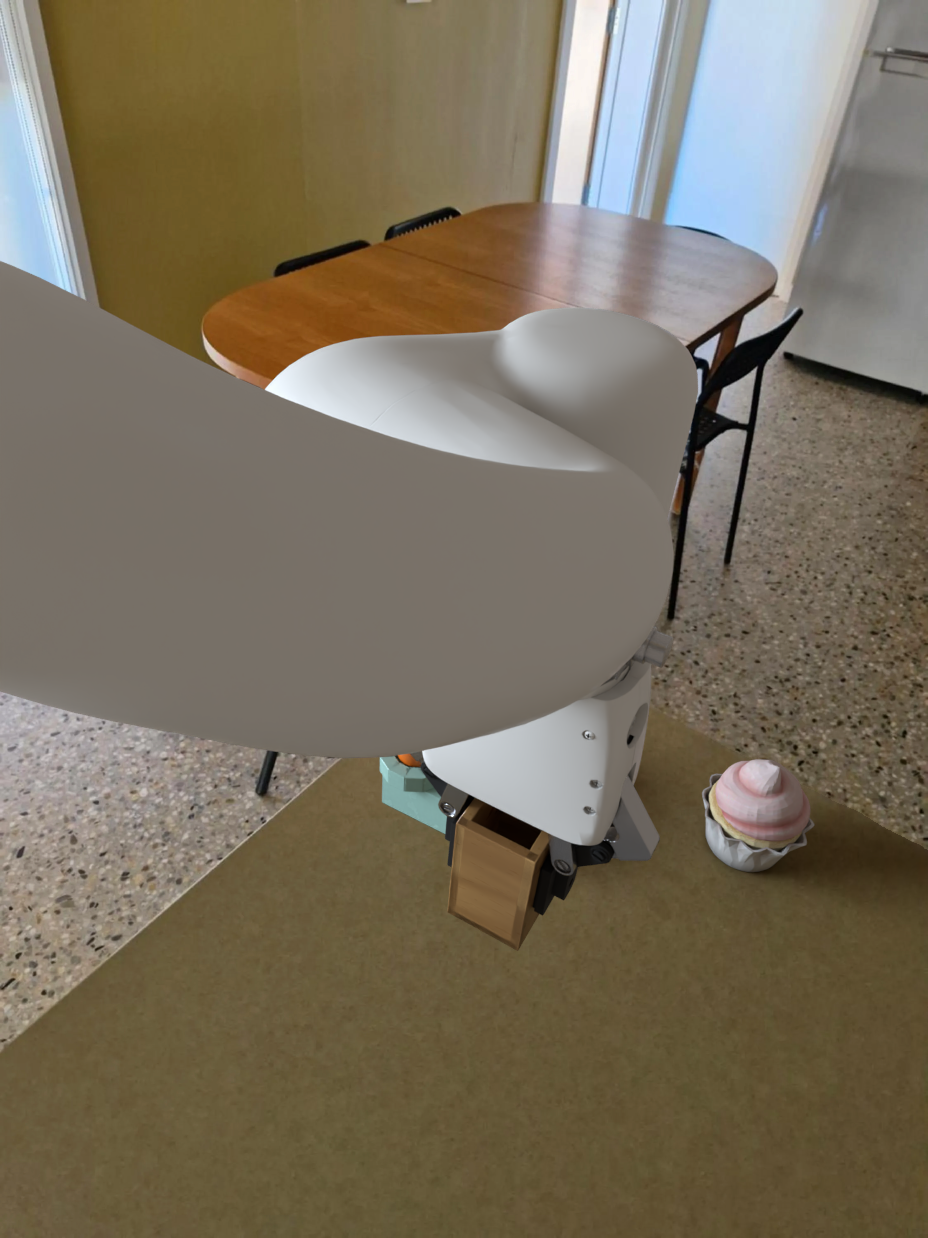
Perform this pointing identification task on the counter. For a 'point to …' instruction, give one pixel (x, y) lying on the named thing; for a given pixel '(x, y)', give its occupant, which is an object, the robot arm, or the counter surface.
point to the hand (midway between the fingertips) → (507, 869)
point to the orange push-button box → (411, 792)
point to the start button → (409, 760)
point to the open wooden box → (496, 872)
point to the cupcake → (755, 814)
